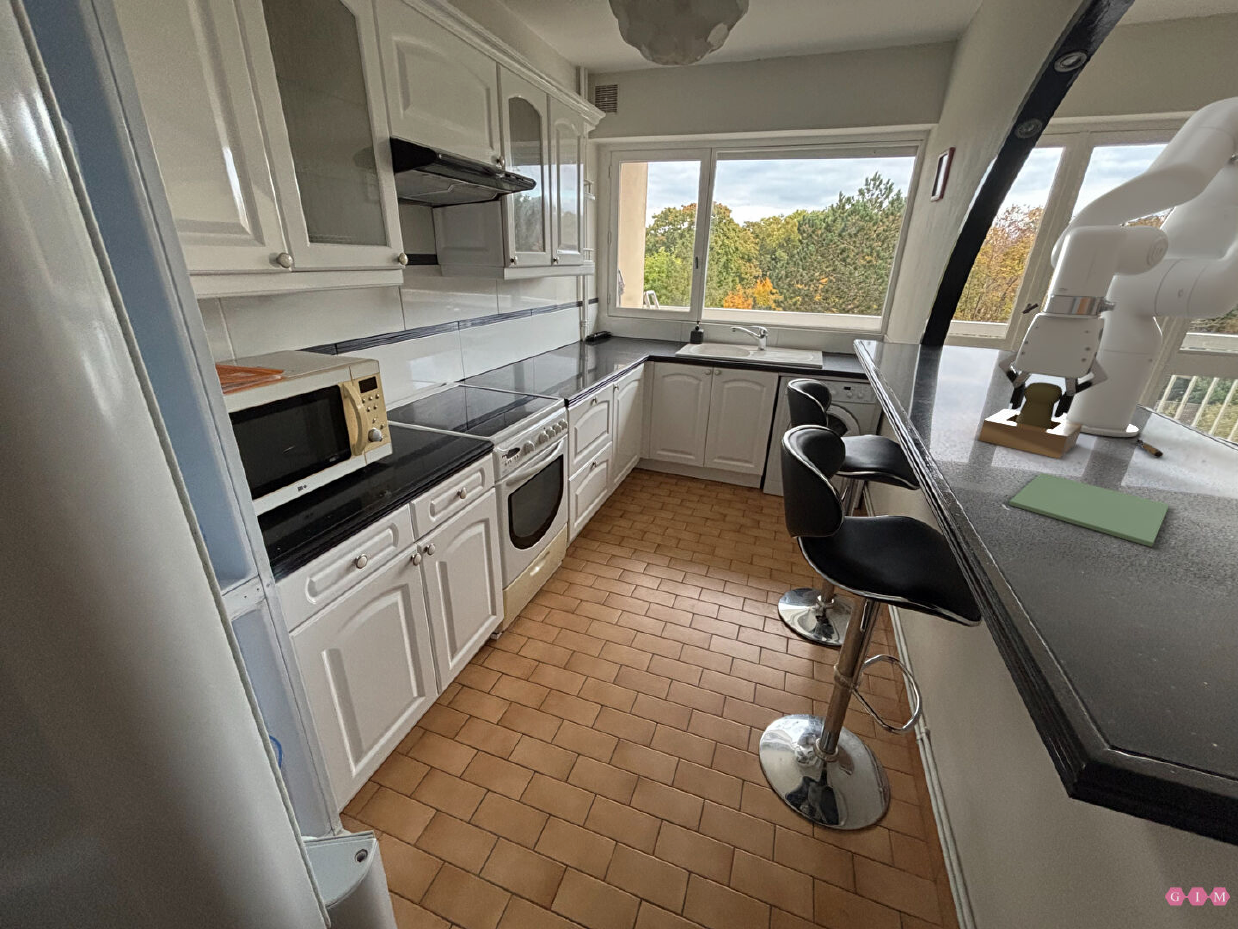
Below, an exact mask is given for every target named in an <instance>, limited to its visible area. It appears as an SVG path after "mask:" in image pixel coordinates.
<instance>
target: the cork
mask: <svg viewBox="0 0 1238 929" xmlns="http://www.w3.org/2000/svg"><path fill="white" fill-rule="evenodd" d="M1061 395H1063V389H1062V387H1061V386H1060V385H1058V384H1054V383H1050V382H1045V381H1041V382H1040V381H1039V382H1036V381H1035V382H1032V383H1029V384H1028V385H1027V386H1026V389H1025V392H1024V398H1025V399H1024V400H1025V401H1024V403H1023V405H1022V406H1021V409H1020V410H1019V412H1020V413H1019V415H1018V417H1017V419H1016V421H1015V423H1020V424H1025V425H1030V426H1035V427H1040V428H1045V429H1050V426H1051V421H1052V418H1053V416H1054V415H1053V414H1054V410H1055V409H1054V408H1055V404H1057V403H1059V400H1060V397H1061Z"/></svg>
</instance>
